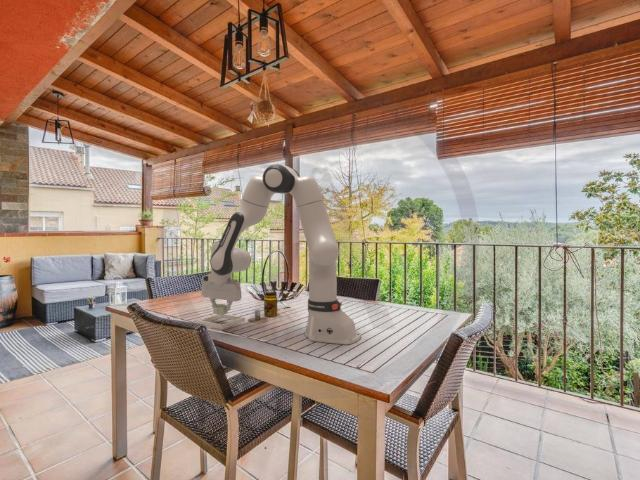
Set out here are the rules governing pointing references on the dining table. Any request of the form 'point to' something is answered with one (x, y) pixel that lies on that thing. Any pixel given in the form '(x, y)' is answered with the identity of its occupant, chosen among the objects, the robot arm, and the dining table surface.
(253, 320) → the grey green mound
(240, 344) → the dining table surface
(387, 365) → the dining table surface
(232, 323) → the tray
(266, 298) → the condiment
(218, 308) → the ring
